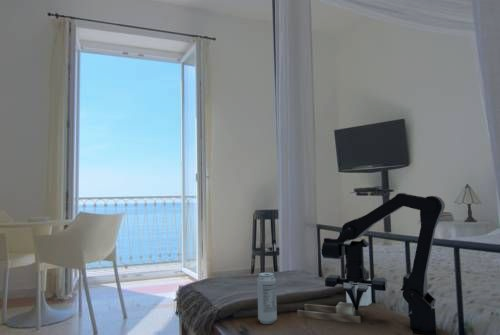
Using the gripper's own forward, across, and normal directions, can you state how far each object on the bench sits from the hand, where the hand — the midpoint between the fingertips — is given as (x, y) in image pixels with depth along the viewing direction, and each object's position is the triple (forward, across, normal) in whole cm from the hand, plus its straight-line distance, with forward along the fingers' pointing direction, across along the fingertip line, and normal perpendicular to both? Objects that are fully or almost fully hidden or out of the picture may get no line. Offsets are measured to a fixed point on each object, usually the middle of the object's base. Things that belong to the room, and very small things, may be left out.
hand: (356, 309), depth 123 cm
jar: (+4, +2, -19) cm, 19 cm away
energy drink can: (+4, +26, +11) cm, 29 cm away
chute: (+3, +8, 0) cm, 9 cm away
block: (+3, +4, 0) cm, 4 cm away
